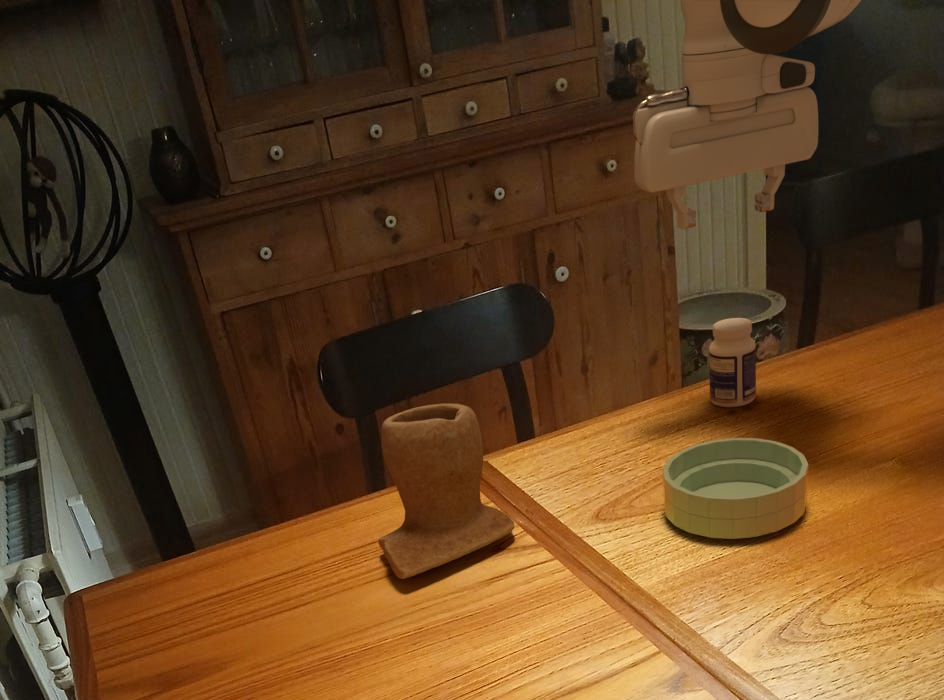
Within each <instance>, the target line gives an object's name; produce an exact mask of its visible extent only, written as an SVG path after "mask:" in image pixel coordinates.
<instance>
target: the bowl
mask: <svg viewBox="0 0 944 700" xmlns="http://www.w3.org/2000/svg"><path fill="white" fill-rule="evenodd" d="M808 483H809V461H808V460H807V458H806V457H805V455H804V454H803V453H802V452H800V451H799V450H798V449H797V448H795V447H793V446H791V445H788V444H785V443H783V442H779V441H777V440H771V439H764V438H757V437H730V438H721V439H714V440H709V441H705V442H701V443H697V444H693V445H691V446H688V447H685V448H684V449H682V450H679V451H678V452H676V453H675V454H673V455H672V456H671V457H670V458H668V459H667V461H666V462H665V464H664V466H663V468H662V489H663V508H664V514H665V518H666V519H668V520H669V522H671V523H672V525H673V526H674V527H676V528H677V529H681V530H683V531H685V532H687V533H688V534H692V535H698V536H702V537H705V538H711V539H723V540H738V539H750V538H756V537H757V538H758V537H760V536H764V535H768V534H772V533H776V532H779V531H780V530H783V529H785V528H787V527H789V526H791V525H793V524H795V523H796V522H797V521H798V520H799V519H800V518H801V517H803V515H804V514H805V510H806V507H807V504H808Z"/></svg>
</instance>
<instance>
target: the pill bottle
mask: <svg viewBox="0 0 944 700" xmlns="http://www.w3.org/2000/svg"><path fill="white" fill-rule="evenodd" d="M752 332H753V323H752V320H751V319H749V318H745V317H731V318H724V319H721V320H718V321H716V322H714V324H713V325H712V336H713V338H714V340H712V341H711V343H710V345H709V347H708V369H709V370H708V371H709V373H708V374H709V400H710V402H711V403H712V404H713V405H714V406H717V407H721V408H739V407H742V406H746V405H749V404H751V403H752V402H753V401H754V400H755V399H756V396H757V347H756V345H757V344H756V342H755V339H753V338H752V337H751V336H750V335H751V334H752Z"/></svg>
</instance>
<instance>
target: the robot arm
mask: <svg viewBox="0 0 944 700" xmlns="http://www.w3.org/2000/svg"><path fill="white" fill-rule="evenodd" d="M862 2H863V0H680V9H681V12H682V15H683V19H684V37H683V41H682V46H681V80H682V81H681V83H682V87H681V88H677V89H676V88H675V89H672V90H669V91H666V92H662V93H652V94H648V95H647V96H645V98H644V100H643V101H640V103H639V104H637V106H636V108H635V110H634V111H633V115H632V126H633V135H634V139H635V146H634V147H635V148H634V149H635V150H634V158H633V159H634V160H633V161H634V163H633V164H634V165H633V172H634V173H633V176H634V179H633V180H634V182H635V184H636V185H637V187H639V189H640V190H642V191H644V192H647V193H652V194H653V193H659V192H663V191H666V192H665V193H666V198H667V200H668V201H669V202H670V204H671V205H672V207H673V209H674V211H675V212H676V225H677V228H678V229H680V230H682V231H683V230H688V229H691V228H695V227H696V226H697V220H695V219H696V218H697V214H696V213H697V210H694V209H692V208H688V207H687V205H686V204H685V202H684V200H683V198H684V197H686V196H687V186H690V185H696V184H699V183H705V182H709V181H713V180H719V179H724V178H729V177H733V176H737V175H738V176H739V175H742V174H747V173H752V172H755V171H756V172H757V171H761V170H763V175H765V176H767V178H766V179H765V182H764V185H763V187H762V190H761V192H756V193H755V194H754V201H755V203H754V210H755V211H756V212H759V213H763V212H769V211H773V210H774V209H775V194H776V193H777V192H778V189H779V187H780V185H781V184H782V181H783V179H784V178H785V176H786V165H788V164H792V163H797V162H802V161H807V160H810V159H811V158H812V156H813V155H814V153H815V152H816V150H817V148H818V144H819V106H818V100H817V95H816V93H815V91H813V89H812V88H810V87H809V86H810V85H812V84H813V82H814V80H815V75H816V67H815V64H814V63H813V62H811V61H807V60H800V59H795V58H791V57H786V56H785V55H781V54H779V53H783V52H786V51H788V50H790V49H792V48H794V47H795V46H797V45H798V44H799V43H801V42H803V41H804V40H806V39H807V38H809V37H811V36H813V35H816V34H818V33H821V32H822V31H824V30H827V29H829V28H830V27H833V26H835V25H836V24H838V23H840V22H841V21H843V20H844V19H846V18H847V17H848V16H849V15H850V14H851V13H853V12H854V11H855V10H856V9H857V7H859V5H860V4H861V3H862ZM644 106H645V107H644Z"/></svg>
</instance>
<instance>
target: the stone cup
mask: <svg viewBox="0 0 944 700" xmlns="http://www.w3.org/2000/svg"><path fill="white" fill-rule="evenodd" d="M380 439H381V450H382V451H381V452H382V457H383V459H384V463H385V465H386V468H387V469H388V472H389V474H390V476H391V479H392V481H393V483H394V485H395V488H396V490H397V492H398V494H399V499H400V500H401V502H402V506H403V509H404V520H403V522H402V524H401V526H399V527H398V528H396V529H395V530H393V531H391V532H390V533H387V534H385V535H383V536H381V537H379V539H378V541H377V543H378V545H379V547H380V549H381V550H382V551H383V555H384V558H385V559H386V560H387V563H388V564H389V565H390V568H391V570H392V572H393V573H394V575H395V576H396V577H397V579H401V580H405V579H409V578H411V577H414V576H417V575H419V574H422V573H424V572H427V571H430V570H431V569H434V568H437V567H441V566H442V565H445V564H447V563H449V562H451V561H454V560H457V559H459V558H461V557H463V556H466V555H468V554H471V553H472V552H475V551H477V550H479V549H482V548H484V547H486V546H488V545H490V544H492V543H494V542H497V541H498V540H500V539H502V538H504V537H506V536H508V535H509V534H510V533H512V532H513V530H514V529H515V522H514V520H513V519H512V518H511V517H510V516H509V515H508V514H507V513H505V512H503V511H502V510H500V509H499V508H496V507H493V506H490V505H485V504H483V503H482V499H481V480H482V474H483V467H484V443H483V437H482V432H481V427H480V424H479V421H478V417H477V415H476V413H475V411H474V410H473V409H472V408H471V407H470V406H467V405H464V404H459V403H435V404H427V405H422V406H421V405H420V406H417V407H413V408H409V409H406V410H404V411H401V412H398V413H395V414H393V415H391V416H389V417H387V418H386V419H384V421H383V423H382V426H381V438H380Z"/></svg>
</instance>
